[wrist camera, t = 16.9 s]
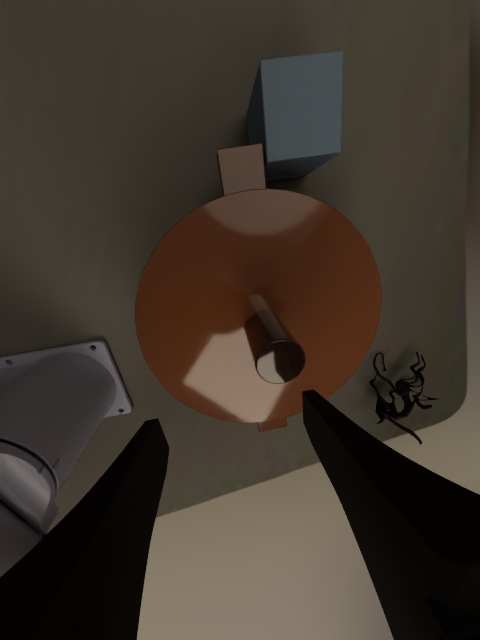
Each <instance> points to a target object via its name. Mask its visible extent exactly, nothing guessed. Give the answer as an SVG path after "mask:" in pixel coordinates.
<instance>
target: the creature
mask: <svg viewBox="0 0 480 640" xmlns="http://www.w3.org/2000/svg"><path fill="white" fill-rule="evenodd" d="M378 354H380V353H377V354H376V355H375V357H374V360H373V366H374V369H375V371H376V374H377V375H378V376H379V377H380V378H381V379H383V380H385V381H386V382H387V383H389V384H390V386H391V387H392V389H393V390H394V391H391V392H390V393H389V395H390V396H391V397H392V399H393V401H392V403H388V402H386V401H385V400H384V399H383V398H382V397H381V396H380V394H379V392H378V389H377V387H376V386H375V385H374V384H373V382H374V381H375V380H376V376H375V379H373V380H372V381H370V384H371V386H372V387H373V388H374V389H375V391H376V392H377V396H378V400H377V404H376V413H377V415H378V417H379V418H380V421H379V422H378V423H377V424H379V423H382V422H383V421H384V419H385V418H386V419H387V420H389V421H390V422H392V423H393V424H394V425H396V426H397V427H399V428H401V429H402V430H404V431H406V432H408V433H409V434H411V435H412V436H414V437H415V438H416V439H417V440H418V441H419V443H420V444H422V441H421V440H420V439H419V437H418V436H417V435H416V434H415V433H414V432H413V431H411V430H410V429H408V428H406V427H403V426H402V425H400V424H398V423H397V422H396V421H394V420H393V419H392V418H394V419H395V420H398V419H400V418H404V417H406V416H408V415H409V413H410V412H411V410H412V408H413V406H414V403H415V402H416V403H417V405H418V406H419V407H421V408H423V409H429V408H431V407H432V406H433V405H425V406H424V405H422V404H421V403H420V402H419V398H418V397H419V396H420V395H421V393H422V390H423V384H424V377H423V375H422V374H421V373H420V372H421V371H422V370H424V368H425V366H426V364H425V361H424V359H423V356H422V355H421V358H422V361H423V362H424V366H423V367H421V368H419V369H418V370H417V372H416V371H415V369H414V368H415V367H416V366H418V365H419V364H420V360H419V355H418V352H416V354H417V357H418V360H419V361H418V362H417V363H416V364H414V365H412V366H410V369H411V370H412V371H413V372H414V374H415V376H416V377H413V378H410V379H414V378H416V379H415V381H414V382H412V383H409V382H405V381H403V380H410V379H400V380H399V381H397V382H396V384H395V387H396V389H397V390H396V389H395V387H394V385H393V384H392V382H391V381H389V380H388V379H387V378H385V377H383V376H382V375H381V374H380V373H379V371H378V369H377V367H376V365H375V360H376V356H377V355H378ZM381 354H382V353H381ZM382 355H383V354H382ZM383 365H384V357H383ZM383 371H387V370H386V368H385V365H384V370H383ZM381 372H382V371H381ZM418 378H420V379H421V382H422V383H421V385H419V386H413V385H410V384H413V383H416V382H417V381H418ZM420 386H422V389H421V392H419V393H418V394H416V395H413V397H414V399H415V400H413V402H411V401H410V398H409V392H410V391H412V392H414V391H413V390H411V389H410V387H420ZM393 392H395V393H397V394H398V395H399V396H401V397H402V399H403V401H404V409H403V410H402V412H400V413H398V412H397V410H396V407H395V404H394V400H395V397H394V396H393V395H392V393H393ZM415 393H416V392H415ZM423 396H424V395H423ZM425 397H426V396H425ZM427 398H428V400H436V399H435V398H430V397H427ZM424 401H425V400H424ZM386 409H388V410H389V411H390V412H389V411H388V410H386ZM391 417H392V418H391Z"/></svg>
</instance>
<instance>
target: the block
mask: <svg viewBox="0 0 480 640" xmlns="http://www.w3.org/2000/svg"><path fill="white" fill-rule="evenodd" d="M342 85H343V51H334V52H325V53H316V54H307V55H298V56H289V57H280V58H272V59H263V60H260V62H259V66H258V70H257V74H256V78H255V82H254V86H253V90H252V94H251V98H250V102H249V106H248V110H247V114H246V118H247V128H248V138H249V145H251V144H258V143H262V145H263V156H264V168H265V179H266V181H272V180H279V179H287V178H294V177H301V176H306V175H307V174H309V173H310V172H312V171H313V170H315V169H316V168H318V167H319V166H321V165H322V164H324V163H325V162H327V161H328V160H330V159H331V158H333V157H334V156H336V155H337V154H339V153H340V152H341V121H342Z"/></svg>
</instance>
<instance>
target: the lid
mask: <svg viewBox="0 0 480 640" xmlns="http://www.w3.org/2000/svg"><path fill="white" fill-rule="evenodd" d="M380 311H381V285H380V277H379V273H378V269H377V265H376V262H375V260H374V257H373V255H372V253H371V250H370V248H369V246H368V245H367V243H366V242H365V240H364V238H363V237H362V235H361V234H360V233H359V231H358V230H357V229H356V228H355V227H354V226H353V224H352V223H351V222H350V221H349V220H348V219H346V218H345V217H344V216H343V215H342V214H341V213H339V212H338V211H337V210H335V209H334V208H332V207H331V206H329V205H327V204H326V203H324V202H322V201H320V200H318V199H315V198H313V197H310V196H308V195H306V194H302V193H298V192H294V191H289V190H282V189H270V188H265V189H251V190H244V191H240V192H235V193H231V194H227V195H225V196H222V197H220V198H217V199H214V200H212V201H209V202H208V203H206V204H204V205H202V206H201V207H199V208H197V209H195V210H193V211H192V212H191V213H189V214H188V215H187V216H185V217H184V218H183V219H182V220H180V221H179V222H178V223H176V225H175V226H174V227H173V228H172V229H171V230H170V231H169V232H168V233H167V234H166V235H165V236H164V237H163V238H162V240H161V241H160V243H159V244H158V246H157V247H156V248H155V250H154V251H153V253H152V254H151V256H150V258H149V260H148V262H147V264H146V266H145V268H144V271H143V274H142V277H141V280H140V283H139V286H138V292H137V297H136V305H135V322H136V330H137V336H138V340H139V344H140V347H141V351H142V353H143V355H144V358H145V360H146V362H147V364H148V366H149V367H150V369H151V371H152V372H153V374H154V376H155V377H156V378H157V379H158V381H159V382H160V383H161V384H162V385H163V387H164V388H165V389H166V390H168V391H169V392H170V393H171V394H172V395H173V396H174V397H175V398H177V399H178V400H179V401H181V402H182V403H184V404H185V405H187V406H189V407H190V408H192V409H194V410H196V411H198V412H200V413H203V414H205V415H208V416H211V417H214V418H218V419H221V420H226V421H232V422H244V423H255V422H266V421H274V420H278V419H282V418H286V417H289V416H292V415H295V414H298V413H300V412H303V403H302V391H307V390H312V389H314V390H315V391H317V392H318V393H319V394H320V395H321V396H322V397H324V398H325V399H326V398H327V397H329V396H330V395H331V394H333V393H334V392H335V391H336V390H338V389H339V388H340V387H341V386H342V385H343V384H344V383H345V382H346V381H347V380H348V379H349V378H350V377H351V375H352V374H353V373H354V372H355V371H356V369H357V368H358V366H359V365H360V364H361V362H362V361H363V359H364V357H365V355H366V354H367V352H368V350H369V348H370V346H371V343H372V341H373V339H374V336H375V333H376V330H377V326H378V323H379V317H380Z"/></svg>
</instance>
